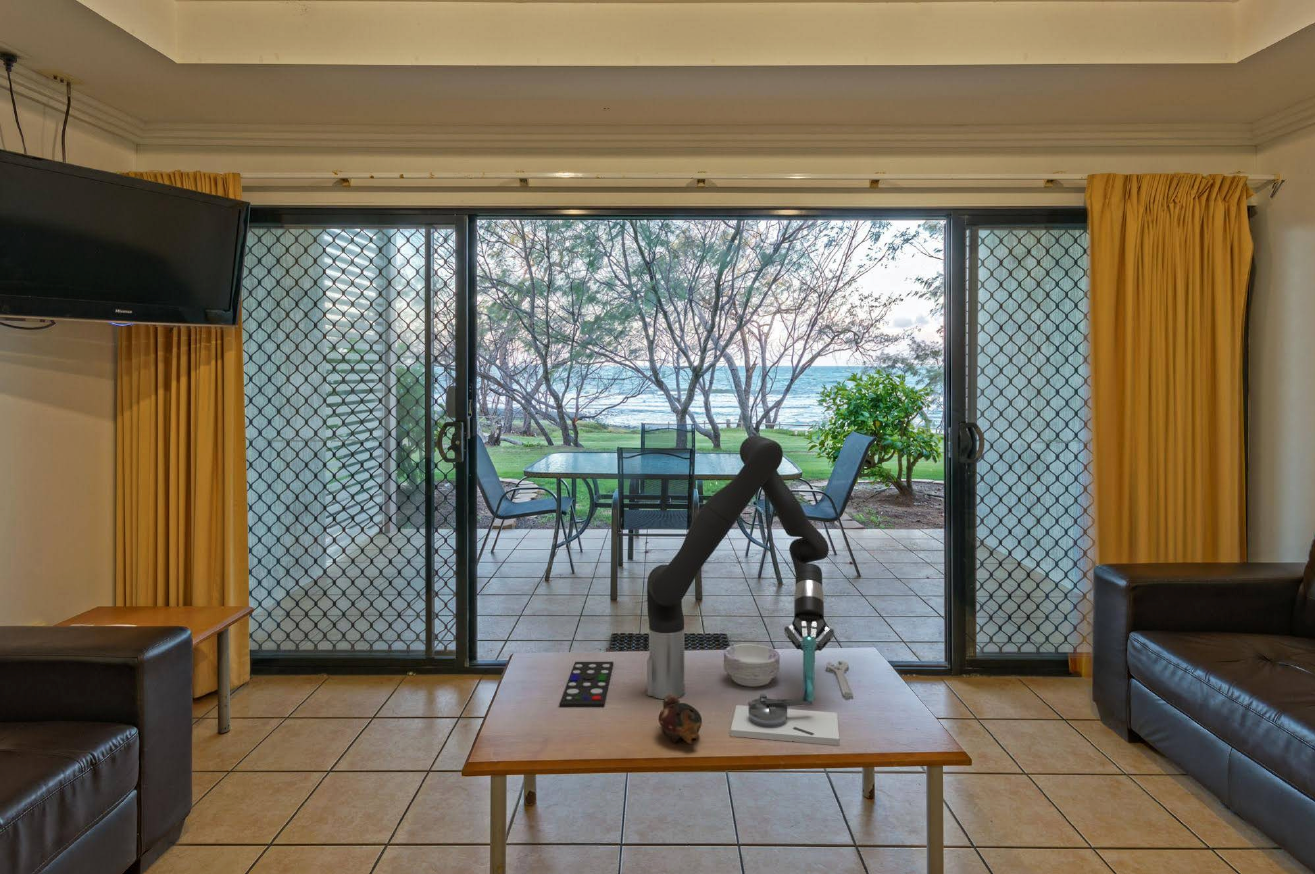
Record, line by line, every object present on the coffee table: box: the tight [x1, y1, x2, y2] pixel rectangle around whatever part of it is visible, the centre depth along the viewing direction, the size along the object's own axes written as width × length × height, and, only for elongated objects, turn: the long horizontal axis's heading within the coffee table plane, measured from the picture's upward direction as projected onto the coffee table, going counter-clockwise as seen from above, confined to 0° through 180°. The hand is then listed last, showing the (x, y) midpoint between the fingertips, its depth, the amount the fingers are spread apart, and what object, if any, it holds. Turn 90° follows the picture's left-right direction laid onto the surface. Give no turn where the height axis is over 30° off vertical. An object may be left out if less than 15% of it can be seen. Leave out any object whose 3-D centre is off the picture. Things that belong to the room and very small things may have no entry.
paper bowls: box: [723, 643, 781, 688], centre depth 201 cm, size 15×15×8 cm
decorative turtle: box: [658, 695, 703, 745], centre depth 167 cm, size 10×15×8 cm, turn 27°
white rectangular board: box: [730, 704, 840, 746], centre depth 172 cm, size 24×14×2 cm, turn 78°
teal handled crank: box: [747, 636, 817, 727], centre depth 173 cm, size 16×9×19 cm, turn 98°
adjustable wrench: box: [825, 660, 854, 701], centre depth 201 cm, size 25×6×2 cm, turn 169°
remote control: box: [559, 661, 614, 708], centre depth 200 cm, size 11×30×2 cm, turn 179°
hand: (809, 664), depth 181 cm, fingers closed
